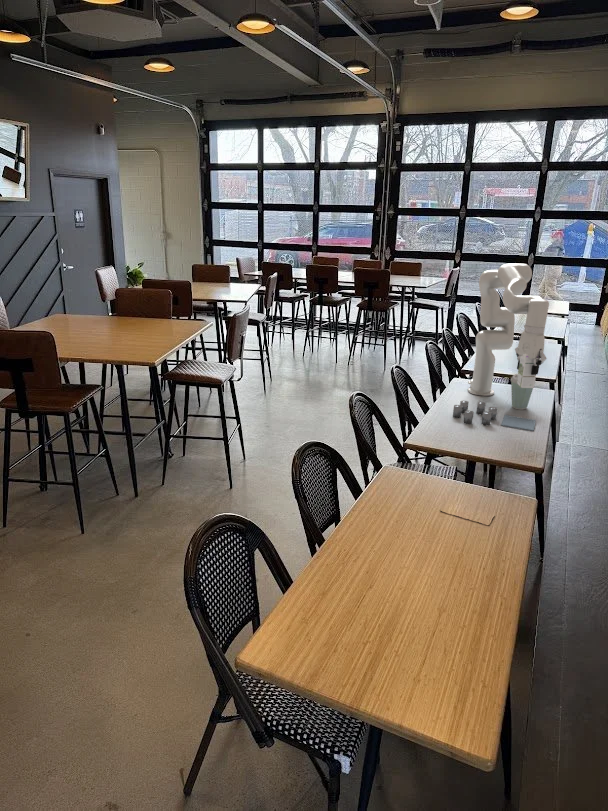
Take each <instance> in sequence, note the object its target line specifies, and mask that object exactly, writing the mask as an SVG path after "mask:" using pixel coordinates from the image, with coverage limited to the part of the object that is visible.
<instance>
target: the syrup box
mask: <svg viewBox="0 0 608 811" xmlns="http://www.w3.org/2000/svg"><path fill="white" fill-rule="evenodd" d="M538 357H539V355H538V356H537V358H538ZM537 360H538V359H537ZM537 360H536V362H537ZM533 365H534V363H533V359H529V358H528V354H523V356H520V362H519V369H517V370H518V371H517V374H518V375H517V382H516V384H517V385H518V386H520V387H521V388H533V389H534V388H535V384H536V378H537V375H531V371H532V366H533Z"/></svg>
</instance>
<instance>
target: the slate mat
mask: <svg viewBox="0 0 608 811" xmlns="http://www.w3.org/2000/svg"><path fill="white" fill-rule="evenodd" d="M536 423H537V422H536V419H532V418H525V417H519V416H514V415H508V414H504V416H503V418H502V421H501V423H500V424H501V425H500V426H501V427H506V428H511V429H517V430H523V431H528V430H530V431H529V432H534V431H535V426H536Z"/></svg>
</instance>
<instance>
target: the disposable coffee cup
mask: <svg viewBox="0 0 608 811" xmlns="http://www.w3.org/2000/svg"><path fill="white" fill-rule="evenodd" d="M517 375H518V373H516V374H515V373H514V374H512V376H511V377H510V382H511V386H510V387H511V407H512V408H513V409H515V410H526V409H527V408H528V405H529V402H530V400H531V396H532V394H533V390H534V388H521V387H520V386H518V385H517V384H516V382H517Z"/></svg>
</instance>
